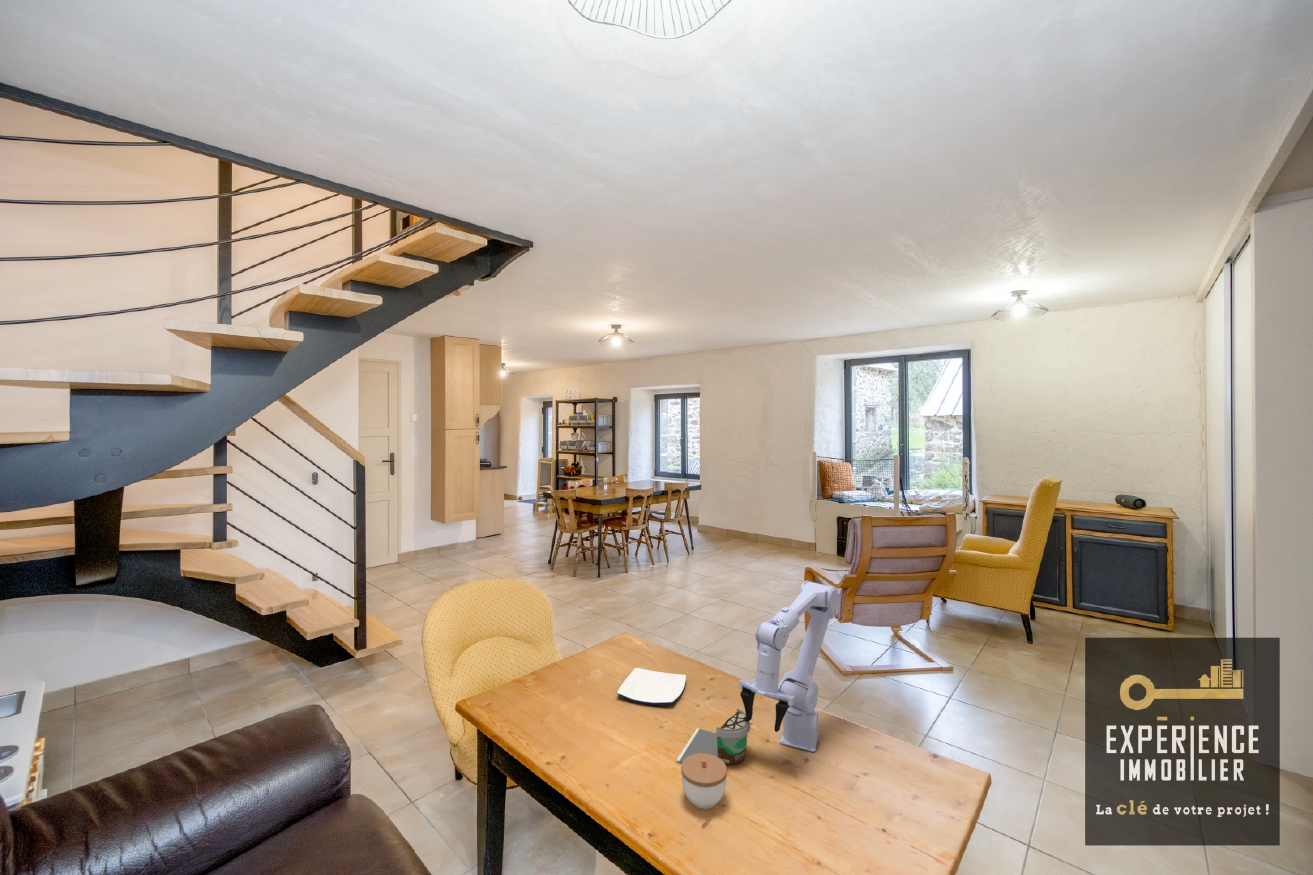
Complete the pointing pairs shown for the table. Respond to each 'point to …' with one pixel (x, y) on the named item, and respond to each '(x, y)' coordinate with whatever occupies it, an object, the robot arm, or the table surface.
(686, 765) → the lidded jar
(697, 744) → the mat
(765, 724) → the table surface
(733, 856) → the table surface
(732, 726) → the food container
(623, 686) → the plate
